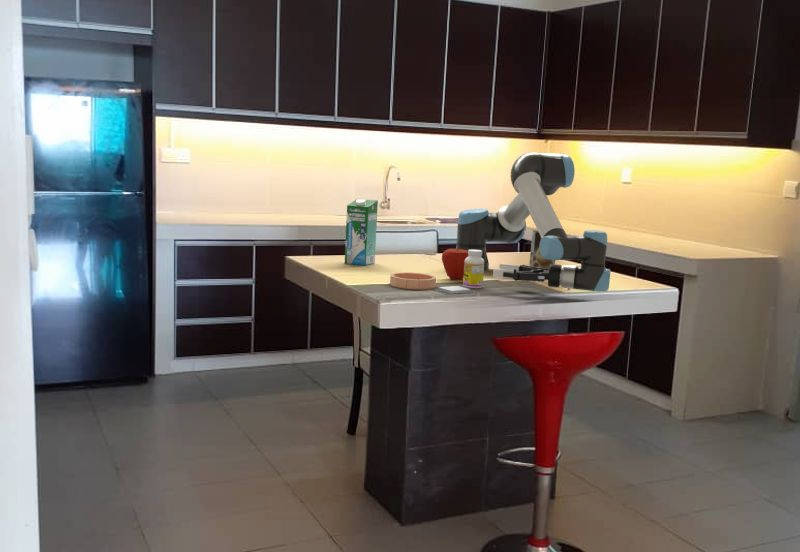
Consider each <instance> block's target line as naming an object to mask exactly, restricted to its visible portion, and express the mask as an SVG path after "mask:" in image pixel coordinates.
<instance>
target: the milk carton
mask: <svg viewBox="0 0 800 552" xmlns="http://www.w3.org/2000/svg"><path fill="white" fill-rule="evenodd" d="M378 204H379V201H378V200H376V199H375V200H374V199H365V198H364V199H363V198H355V200H353V201H352V202H350V203H348V204H347V205H346V221H345V222H346V225H345V245H344V246H345V247H344V264H347V265H349V264H350V265H357V266H369V265H372V264H376V243H377V225H378V223H377V222H378V221H377V220H378Z"/></svg>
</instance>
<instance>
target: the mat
mask: <svg viewBox="0 0 800 552" xmlns="http://www.w3.org/2000/svg"><path fill="white" fill-rule="evenodd" d="M430 290H432V291H434V292H437V293H440V294H443V295H446V296H448V295H453V294H450V293H446V292H443V291H439V288H438V289H437V288H436V289H435V288H432V289H430ZM467 294H468V295H470V294H477V292H475V291H472V290H470V292H467V293H455V294H454V295H467Z"/></svg>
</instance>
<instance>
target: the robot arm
mask: <svg viewBox="0 0 800 552" xmlns="http://www.w3.org/2000/svg"><path fill="white" fill-rule="evenodd" d="M574 178H575V164H574V161H573V159H572V158H571V156H570V155H567V154H563V153H550V152H549V153H548V152H547V153H545V152H536V151H535V152H532V151H531V152H525V153H523V154H522V155H520V156H519V157H518V158H516V160H515V161H514V163H513V164H512V167H511V169H510V181H511V185H512V187H513V189H514V190H515V193H517V194H516V196H515V197H514V198H513V199H512V200H511V202H510V203H509V204H508V205H505V206H502V207H501V208H499V210H498V211H497V212H490V211H489V210H488V209H487V208H471V209H470V208H469V209H464V210H461V211H459V214H458V219H457V220H458V221H457V231H456V232H457V235H456V247H455V249H458V247H459V249H463V250H467V251H468V250H481V251H482V255H481V258H483V259H484V271H487V270H486V269H488V270H489V267H490V263H489V257H488V253H487V250H486V249H487V248H486V247H487V243H507V244H508V243H516V242H517V243H518V242H519V241H520V240H521V239H523V237H524V235H525V233H526V232H525V231H526V229H527V222H526V220H527V219H528V218H529V216H530V217H531V219H532V221H533V223H534V226H535V227H536V229H537V231H539V234H540V236H541V238H542V239H541V241H540V245H539V249H540V254H541V256H542V257H543V258H544V259H549V260H555V261H580V266H577V265H570V264H569V265H568V264H563V265H561V264H557V263H555V264H551V265H550V267H549V271H548V269H547V268H539V267H533V266H529V265H526V264H522V265H521V264H520V265H518V264H509V263H499V268H494V269H493V273H492V278H497V279H508V280H514V281H515V282H517V281H520V282H525V281H527V282H542V283H543V282H545V280H547V286H548V287H550V288H562V289H567V291H571V290H572V289H573V290H578V291H579V290H580V291H589V292H590V291H591V292H608V291H609V288H610V280H611V269H610V268H606V255H607V248H608V234H607V233H606V232H605V231H602V230H593V229H591V230H584V232H583V235H582V236H581V235H579V236H574V235H573V236H571V235H569V236H568V235H567V233H566V231H565V229H564V228H563V225H562V224H561V221H560V220H559V217H558V216H557V214H556V212H555V210H554V208H553V206H552V203H551V202H550V200H549V198H548V196H552V195H554V194H555V193H556V192H557V191H559V189H560V188H563V189H566V188H569V187H571V185H572V184H573V182H574Z"/></svg>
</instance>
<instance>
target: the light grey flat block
mask: <svg viewBox="0 0 800 552" xmlns="http://www.w3.org/2000/svg"><path fill="white" fill-rule="evenodd" d="M438 289H439V291H443V292H446V293H450V294H452V295H456V294H455V293H467V292H470V291H471V288H469V287H464V286H460V285H451V286H450V285H449V286H441V287H440V286H439V287H438Z"/></svg>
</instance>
